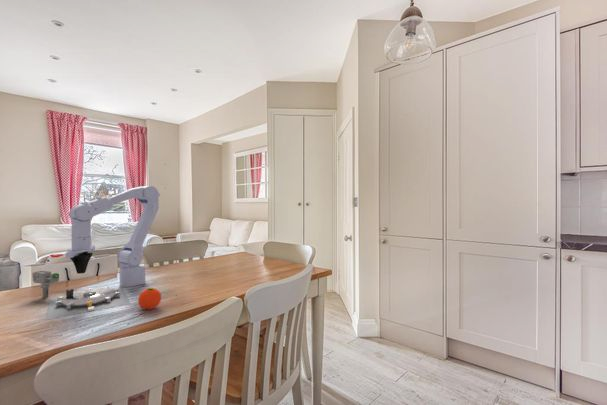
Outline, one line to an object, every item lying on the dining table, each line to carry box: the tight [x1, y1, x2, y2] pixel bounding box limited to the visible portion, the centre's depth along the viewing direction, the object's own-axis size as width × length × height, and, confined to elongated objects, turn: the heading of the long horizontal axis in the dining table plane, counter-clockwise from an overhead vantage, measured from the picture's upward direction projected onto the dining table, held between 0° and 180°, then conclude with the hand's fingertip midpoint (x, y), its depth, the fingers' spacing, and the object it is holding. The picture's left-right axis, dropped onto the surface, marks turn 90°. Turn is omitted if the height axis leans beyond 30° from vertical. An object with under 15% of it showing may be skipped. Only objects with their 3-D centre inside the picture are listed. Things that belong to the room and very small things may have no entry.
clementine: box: [138, 287, 162, 310], centre depth 96 cm, size 8×7×7 cm
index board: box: [44, 286, 131, 321], centre depth 100 cm, size 22×24×2 cm
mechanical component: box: [31, 270, 60, 298], centre depth 103 cm, size 3×10×10 cm, turn 79°
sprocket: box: [56, 286, 120, 309], centre depth 101 cm, size 18×19×4 cm
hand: (81, 273), depth 105 cm, fingers closed
